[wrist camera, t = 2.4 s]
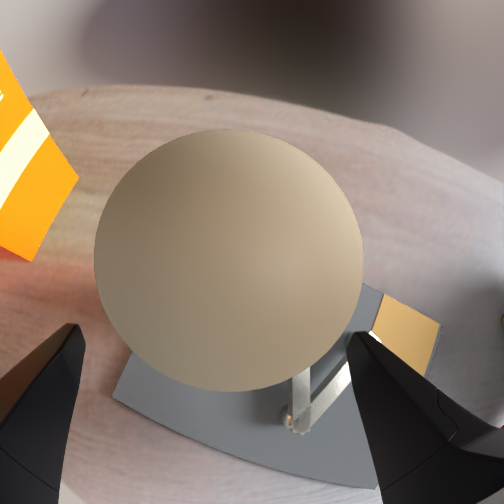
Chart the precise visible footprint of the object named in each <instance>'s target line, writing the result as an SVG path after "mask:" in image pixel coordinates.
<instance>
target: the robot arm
mask: <svg viewBox="0 0 504 504" xmlns="http://www.w3.org/2000/svg"><path fill="white" fill-rule="evenodd" d="M85 346H86V345H85V340H84V337H83V334H82V331H81V329H80V326H79V325H78V324H75V323H66V324H65V325H63V326H62V327H61V328H60V329H59V330H57V331H56V332H55V333H54V334H52V335H51V336H50V337H49V338H48V339H46V340H45V341H44V342H43V343H42V344H40V345H39V346H38V347H37V348H36V349H34V350H33V351H32V352H31V353H30V354H28V355H27V356H26V357H25V358H24V359H23V360H21V361H20V362H19V363H18V364H17V365H16V366H15V367H13V368H12V369H11V370H10V371H9V372H8V373H7V374H5V375H4V376H3V377H2V378H1V379H0V504H58V499H59V488H60V481H61V474H62V467H63V461H64V455H65V449H66V443H67V438H68V433H69V428H70V423H71V419H72V414H73V410H74V406H75V402H76V397H77V393H78V389H79V384H80V377H81V371H82V365H83V359H84V353H85ZM346 356H347V361H348V366H349V371H350V377H351V382H352V387H353V392H354V396H355V399H356V403H357V406H358V409H359V413H360V416H361V420H362V423H363V427H364V430H365V434H366V437H367V441H368V445H369V448H370V452H371V456H372V460H373V464H374V467H375V471H376V475H377V479H378V483H379V487H380V491H381V496H382V501H383V504H504V429H503V428H496V427H493V426H491V425H489V424H487V423H485V422H484V421H482V420H481V419H479V418H478V417H476V416H475V415H473V414H472V413H470V412H469V411H467V410H466V409H464V408H463V407H462V406H460V405H459V404H457V403H456V402H454V401H453V400H452V399H451V398H449V397H448V396H447V395H445V394H444V393H443V392H442V391H440V390H439V389H437V387H435V386H434V385H433V384H432V383H430V382H429V381H428V380H427V379H425V378H424V377H423V376H422V375H420V374H419V373H418V372H417V371H415V370H414V369H413V368H412V367H411V366H409V365H408V364H407V363H406V362H404V361H403V360H402V359H401V358H399V357H398V356H397V355H396V354H394V353H393V352H392V351H391V350H389V349H388V348H387V347H386V346H384V345H383V344H382V343H381V342H379V341H378V340H377V339H375V338H374V337H373V336H372V335H370V334H369V333H368V332H367V331H355V332H354V333H353V334H352V336H351V339H350V341H349V343H348V346H347V349H346Z"/></svg>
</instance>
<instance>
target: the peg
mask: <svg viewBox="0 0 504 504" xmlns="http://www.w3.org/2000/svg"><path fill="white" fill-rule="evenodd" d="M363 269H364V255H363V246H362V239H361V235H360V231H359V227H358V223H357V221H356V218H355V215H354V213H353V210H352V208H351V206H350V204H349V202H348V200H347V199H346V197H345V195H344V193H343V192H342V191H341V189H340V188H339V186H338V185H337V183H336V182H335V181H334V180H333V179H332V177H331V176H330V175H329V174H328V173H327V172H326V171H325V170H324V169H323V168H322V167H321V166H320V165H319V164H318V163H317V162H315V161H314V160H313V159H312V158H310V157H309V156H307V155H306V154H305V153H303V152H302V151H300V150H299V149H297V148H295V147H293V146H291V145H289V144H288V143H286V142H283V141H281V140H278V139H276V138H273V137H270V136H267V135H263V134H260V133H256V132H250V131H244V130H230V129H222V130H209V131H203V132H198V133H193V134H190V135H186V136H183V137H180V138H177V139H175V140H173V141H170V142H168V143H166V144H164V145H162V146H160V147H159V148H157V149H155V150H154V151H152V152H150V153H149V154H148V155H146V156H145V157H144V158H142V159H141V160H140V161H139V162H137V163H136V164H135V165H134V166H133V167H132V168H131V169H130V170H129V171H128V172H127V173H126V174H125V176H124V177H123V178H122V179H121V181H120V182H119V183H118V185H117V186H116V187H115V189H114V191H113V192H112V194H111V196H110V197H109V199H108V201H107V203H106V205H105V208H104V210H103V213H102V215H101V218H100V221H99V225H98V228H97V232H96V238H95V246H94V272H95V278H96V285H97V289H98V292H99V296H100V299H101V302H102V305H103V307H104V310H105V312H106V314H107V316H108V318H109V320H110V322H111V324H112V325H113V327H114V328H115V330H116V331H117V333H118V334H119V336H120V337H121V339H122V340H123V341H124V342H125V343H126V344H127V346H128V347H129V348H130V349H131V350H132V351H133V352H134V353H135V354H136V355H137V356H138V357H140V358H141V359H142V360H143V361H144V362H145V363H147V364H148V365H149V366H151V367H152V368H154V369H155V370H157V371H159V372H160V373H162V374H164V375H165V376H167V377H169V378H172V379H174V380H176V381H178V382H181V383H183V384H186V385H190V386H193V387H197V388H201V389H205V390H213V391H221V392H241V391H249V390H255V389H261V388H265V387H269V386H272V385H275V384H278V383H281V382H283V381H285V380H288V379H290V378H292V377H294V376H296V375H298V374H300V373H301V372H303V371H304V370H306V369H307V368H309V367H310V366H312V365H313V364H314V363H316V362H317V361H318V360H319V359H320V358H321V357H322V356H323V355H324V354H326V353H327V352H328V351H329V350H330V348H331V347H332V346H333V345H334V344H335V342H336V341H337V340H338V339H339V338H340V336H341V334H342V333H343V331H344V330H345V328H346V326H347V325H348V323H349V321H350V319H351V317H352V315H353V312H354V310H355V308H356V305H357V302H358V298H359V295H360V291H361V286H362V280H363Z"/></svg>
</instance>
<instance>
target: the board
mask: <svg viewBox="0 0 504 504" xmlns="http://www.w3.org/2000/svg"><path fill="white" fill-rule="evenodd" d="M442 328H443V326H442V325H440V324H439V323H438V322H436V321H434V320H432V319H430V318H428V317H427V316H425V315H423V314H421V313H419V312H417V311H416V310H414V309H412V308H410V307H408V306H406V305H404V304H402V303H401V302H399V301H397V300H395V299H393V298H391V297H389V296H387V295H386V294H383V293H381V292H379V291H377V290H375V289H373V288H371V287H369V286H367V285H365V284H364V283H362V286H361V291H360V295H359V298H358V302H357V305H356V308H355V310H354V312H353V315H352V317H351V319H350V321H349V323H348V325H347V326H346V328H345V330H344V331H343V333H342V334H341V336H340V338H339V339H338V340H337V341H336V342H335V344H334V345H333V346H332V347H331V348H330V350H329V351H328V352H327V353H326V354H324V355H323V356H322V357H321V358H320V359H319V360H318V361H317V362H316V363H314V364H313V365H312V366H310V395H311V394H312V393H313V392H314V390H315V389H316V388H317V387H318V386H319V385H320V384H321V383H322V381H323V380H324V379H325V378H326V377H327V376H328V374H329V373H330V372H331V371H332V370H333V369H334V367H335V366H336V365H337V364H338V363H339V361H340V360H341V359H342V358H343V356H344V355H345V354H346V348H345V345H344V340H345V337H346V335H347V334H348V333H350V332H354V331H367V330H369V331H372V332H374V333H375V334H376V336H377V338H378V339H379V340H380V341H381V343H382V344H383V345H384V346H386V347H387V348H388V349H389V350H391V351H392V352H393V353H394V354H396V355H397V356H398V357H399V358H401V359H402V360H403V361H404V362H406V363H407V364H408V365H409V366H411V367H412V368H413V369H414V370H415V371H417V372H418V373H419V374H420V375H422V376H423V377H424V378H425V379H427V377H428V374H429V371H430V368H431V365H432V362H433V359H434V356H435V352H436V349H437V346H438V342H439V339H440V335H441V332H442ZM112 397H113V398H115V399H117V400H118V401H120V402H122V403H123V404H125V405H127V406H129V407H130V408H132V409H134V410H136V411H137V412H139V413H141V414H143V415H145V416H147V417H148V418H150V419H152V420H154V421H156V422H158V423H160V424H162V425H164V426H166V427H168V428H170V429H172V430H174V431H176V432H178V433H181V434H183V435H185V436H187V437H189V438H192V439H194V440H196V441H198V442H201V443H203V444H206V445H208V446H210V447H213V448H215V449H218V450H220V451H223V452H226V453H228V454H231V455H234V456H236V457H239V458H242V459H245V460H248V461H251V462H254V463H257V464H260V465H263V466H266V467H270V468H273V469H276V470H280V471H283V472H287V473H291V474H295V475H299V476H303V477H307V478H311V479H315V480H320V481H325V482H330V483H335V484H340V485H346V486H352V487H359V488H366V489H374V490H375V488H376V487H377V485H378V479H377V475H376V471H375V467H374V464H373V460H372V456H371V452H370V448H369V445H368V441H367V437H366V434H365V430H364V427H363V423H362V420H361V416H360V413H359V409H358V406H357V403H356V399H355V396H354V392H353V387H352V382H351V381H350V383H349V384H348V385H347V386H346V388H345V389H344V390H343V391H342V392H341V393H340V395H339V396H338V397H337V398H336V399H335V401H334V402H333V403H332V404H331V405H330V406H329V407H328V408H327V410H326V411H325V412H324V413H323V414H322V415H321V416H320V417H319V418H318V420H317V421H316V422H315V423H314V424H313V425H312V426H311V427H310V431H308V432H305V433H304V434H303V435H301V434H295V433H292V432H291V431H289V429H288V428H287V427H286V426H285V425H284V424H283V423H282V422H281V420H280V418H279V414H280V411H281V410H282V408H283V407H285V406H287V405H288V380H285V381H283V382H281V383H278V384H275V385H272V386H269V387H265V388H261V389H255V390H249V391H241V392H221V391H213V390H205V389H201V388H197V387H193V386H190V385H186V384H183V383H181V382H178V381H176V380H174V379H172V378H169V377H167V376H165V375H164V374H162V373H160V372H159V371H157V370H155V369H154V368H152V367H151V366H149V365H148V364H147V363H145V362H144V361H143V360H142V359H141V358H140V357H138V356H137V355H136V354H135V353H134V352H133V351H132V353H131V355H130V357H129V359H128V362H127V364H126V366H125V368H124V370H123V372H122V374H121V377H120V379H119V381H118V383H117V385H116V387H115V390H114V392H113V394H112Z"/></svg>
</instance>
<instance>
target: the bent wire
mask: <svg viewBox="0 0 504 504" xmlns="http://www.w3.org/2000/svg"><path fill="white" fill-rule="evenodd" d="M354 332H355V331H354ZM354 332H350V333H348V334H347V335H346V337H345V340H344V345H345V348H346V349H347V346H348V343H349V341H350V339H351V336H352V334H353V333H354ZM367 332H368V333H369V334H370V335H372V336H373V337H374V338H375V339H377V340H378V341H379V342H381V341H380V340H379V339H378V338H377V336H376V334H375V333H374V332H372V331H369V330H367ZM350 381H351V377H350V371H349V366H348V361H347V356H346V354H345V355H344V356H343V358H342V359H341V360H340V361H339V363H338V364H337V365H336V366H335V367H334V369H333V370H332V371H331V372H330V373H329V374H328V376H327V377H326V378H325V379H324V380H323V381H322V383H321V384H320V385H319V386H318V387H317V388H316V389H315V390H314V392H313V393H312V394H311V395H310V367H309V368H307V369H306V370H304V371H303V372H301V373H300V374H298V375H296V376H294V377H292V378H290V379H288V405H287V406H285V407H283V408H282V410H281V411H280V414H279V418H280V420H281V422H282V423H283V424H284V425H285V426H286V427H287V428H288V429H289V431H291V432H292V433H295V434H301V435H303V434H304V433H305V432H308V431H310V427H311V426H312V425H313V424H314V423H315V422H316V421H317V420H318V418H319V417H320V416H321V415H322V414H323V413H324V412H325V411H326V410H327V408H328V407H329V406H330V405H331V404H332V403H333V402H334V401H335V399H336V398H337V397H338V396H339V395H340V393H341V392H342V391H343V390H344V389H345V388H346V386H347V385H348V384H349V383H350Z"/></svg>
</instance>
